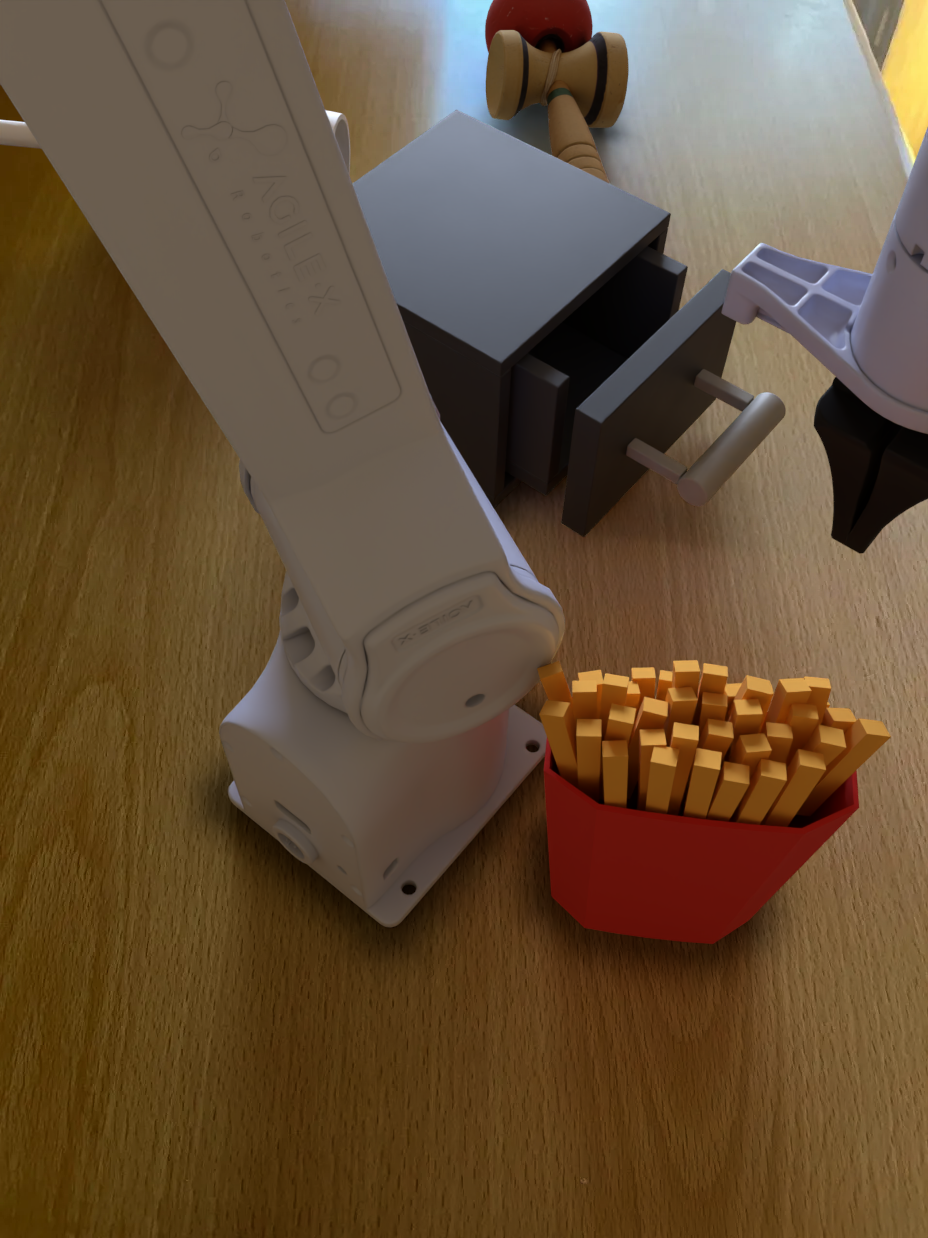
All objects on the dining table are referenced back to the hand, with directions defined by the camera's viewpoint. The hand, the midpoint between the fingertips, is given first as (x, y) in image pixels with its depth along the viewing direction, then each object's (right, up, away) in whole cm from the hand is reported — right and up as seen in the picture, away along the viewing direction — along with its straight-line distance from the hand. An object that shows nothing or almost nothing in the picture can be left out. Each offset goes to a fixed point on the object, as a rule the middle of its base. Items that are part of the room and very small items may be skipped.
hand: (858, 530), depth 45 cm
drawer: (-10, +5, +7) cm, 13 cm away
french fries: (-9, -13, -4) cm, 16 cm away
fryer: (-15, +8, +9) cm, 19 cm away
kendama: (-10, +23, +20) cm, 32 cm away
